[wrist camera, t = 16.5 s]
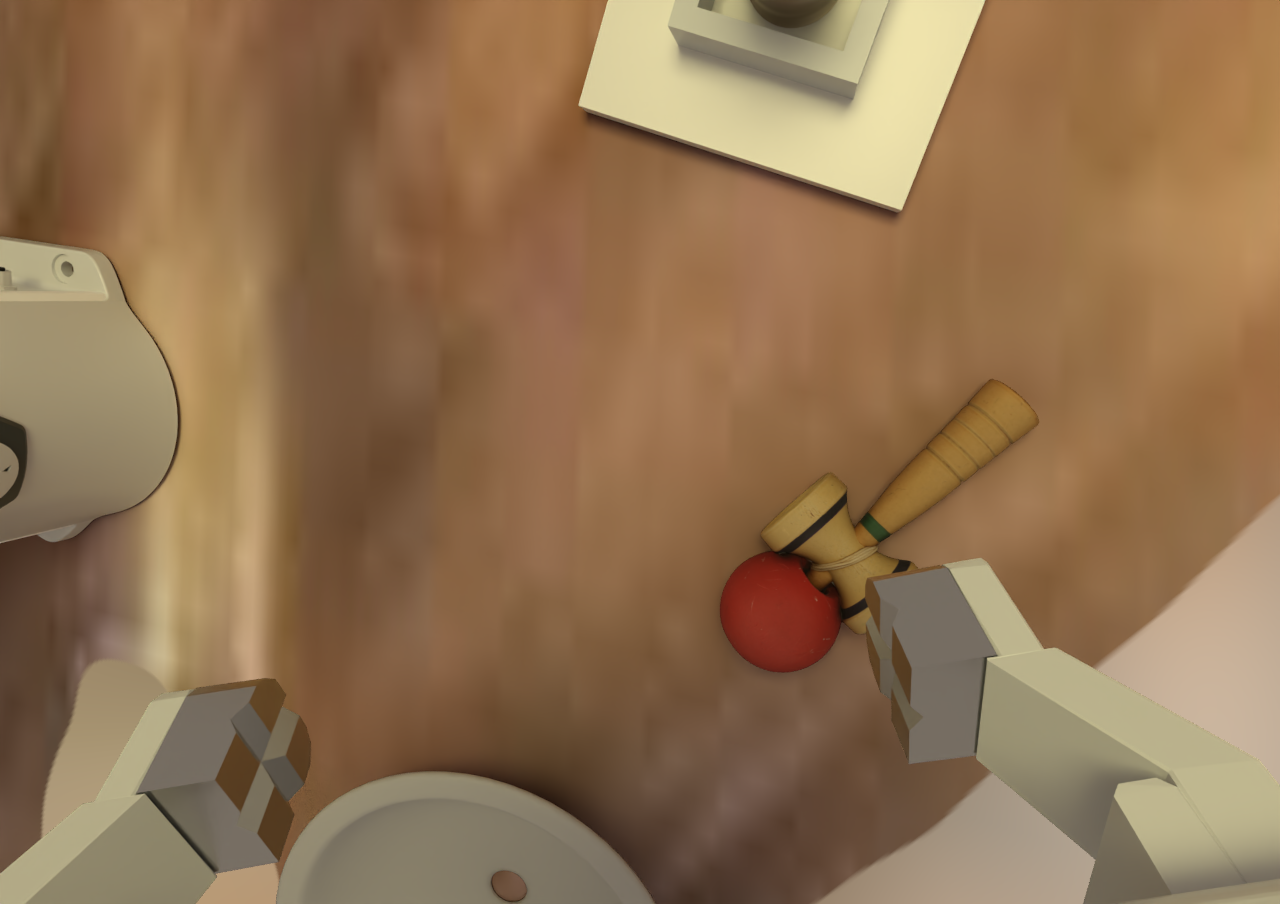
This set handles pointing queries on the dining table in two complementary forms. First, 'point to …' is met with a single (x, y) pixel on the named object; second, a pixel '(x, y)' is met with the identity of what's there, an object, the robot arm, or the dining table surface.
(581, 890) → the soup bowl
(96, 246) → the dining table surface
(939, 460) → the kendama
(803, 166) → the holder
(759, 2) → the peg
